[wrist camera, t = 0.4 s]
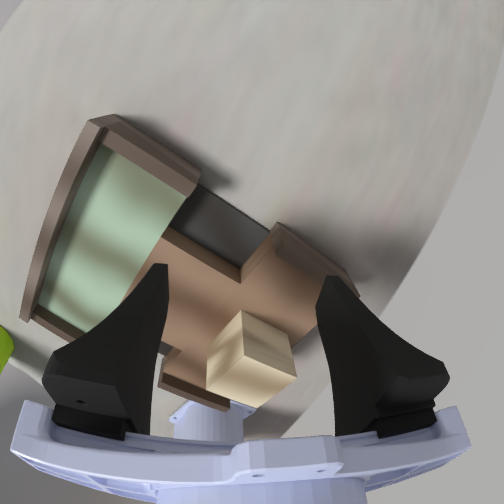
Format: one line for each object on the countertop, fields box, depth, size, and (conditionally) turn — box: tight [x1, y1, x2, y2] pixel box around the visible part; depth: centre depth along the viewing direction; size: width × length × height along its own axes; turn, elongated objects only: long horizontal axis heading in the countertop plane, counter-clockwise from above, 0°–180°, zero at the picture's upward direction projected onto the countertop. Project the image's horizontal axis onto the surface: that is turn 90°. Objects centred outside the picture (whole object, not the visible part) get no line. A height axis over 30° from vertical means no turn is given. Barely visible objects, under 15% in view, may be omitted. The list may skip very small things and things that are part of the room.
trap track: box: [19, 114, 360, 412], centre depth 24 cm, size 19×23×4 cm
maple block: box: [206, 310, 297, 408], centre depth 24 cm, size 5×5×5 cm
